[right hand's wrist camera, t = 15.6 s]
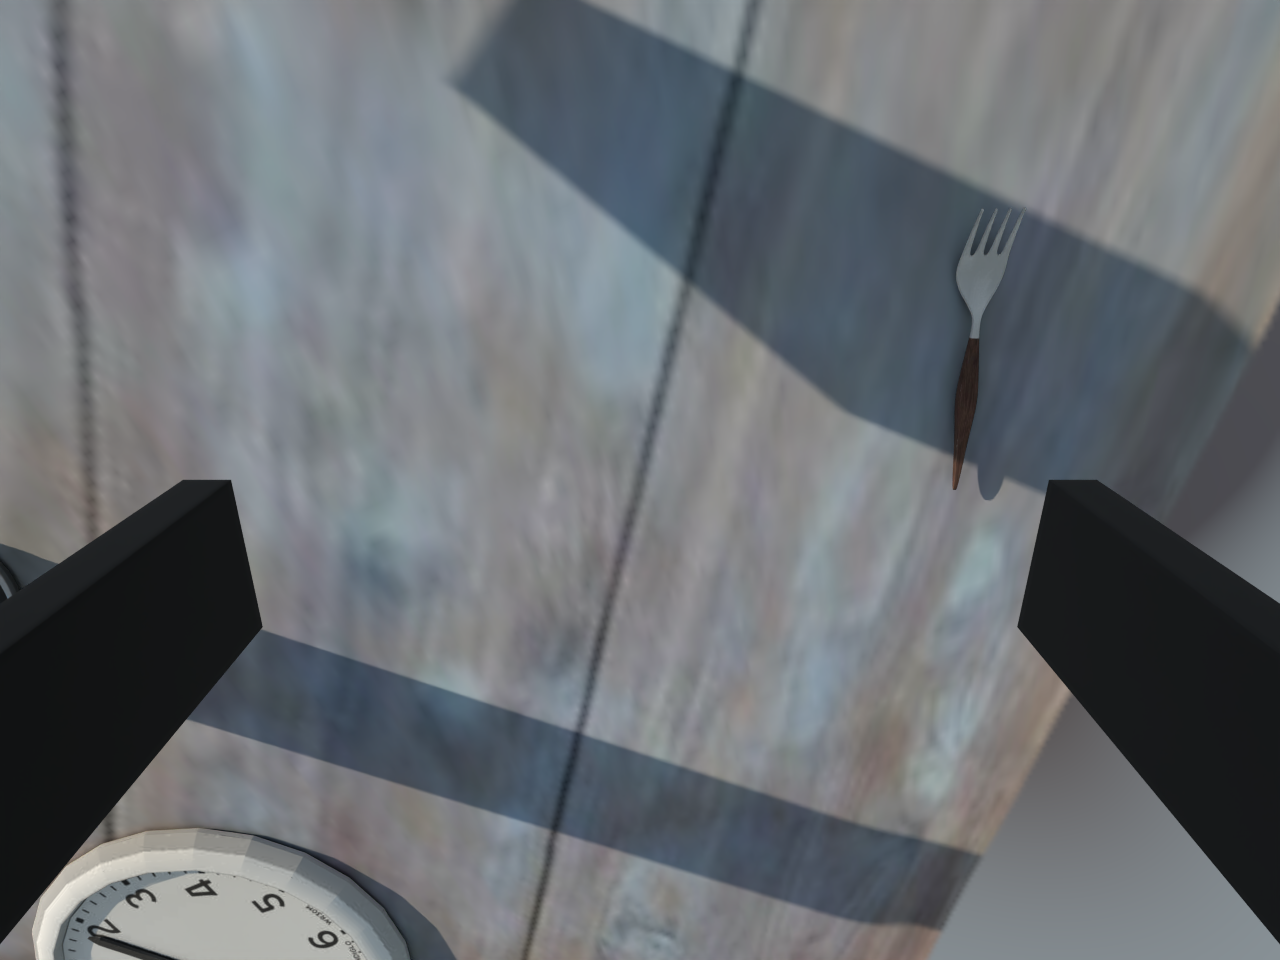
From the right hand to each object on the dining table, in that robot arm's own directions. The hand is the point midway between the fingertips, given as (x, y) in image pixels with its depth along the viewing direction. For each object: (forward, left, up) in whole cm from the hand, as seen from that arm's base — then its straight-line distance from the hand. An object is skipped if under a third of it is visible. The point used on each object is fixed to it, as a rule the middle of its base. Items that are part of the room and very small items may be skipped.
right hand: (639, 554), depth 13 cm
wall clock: (+46, +44, -32) cm, 71 cm away
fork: (-17, +8, -32) cm, 37 cm away
